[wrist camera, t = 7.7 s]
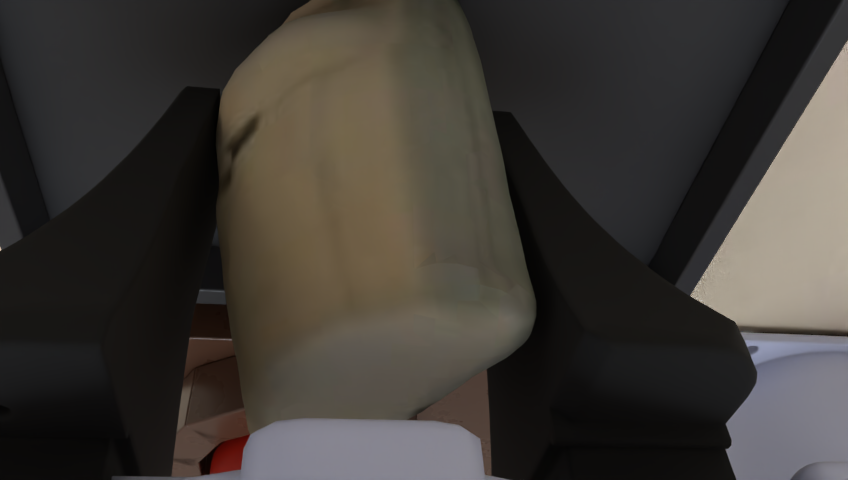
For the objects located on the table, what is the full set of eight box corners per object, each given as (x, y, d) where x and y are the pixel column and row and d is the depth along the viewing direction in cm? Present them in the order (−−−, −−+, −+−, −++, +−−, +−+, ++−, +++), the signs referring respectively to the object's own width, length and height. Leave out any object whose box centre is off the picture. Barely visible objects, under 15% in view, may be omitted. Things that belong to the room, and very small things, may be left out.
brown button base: (550, 277, 23) (580, 408, 20) (496, 414, 29) (512, 532, 25) (170, 258, 21) (138, 396, 18) (193, 407, 27) (171, 531, 24)
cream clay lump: (467, 183, 19) (504, 492, 13) (253, 180, 18) (198, 495, 13) (496, -40, 14) (567, 273, 9) (220, -50, 14) (116, 270, 9)
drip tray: (886, -178, 14) (953, -129, 12) (651, 262, 23) (673, 324, 21) (-132, -325, 11) (-212, -288, 10) (45, 230, 20) (18, 296, 19)
